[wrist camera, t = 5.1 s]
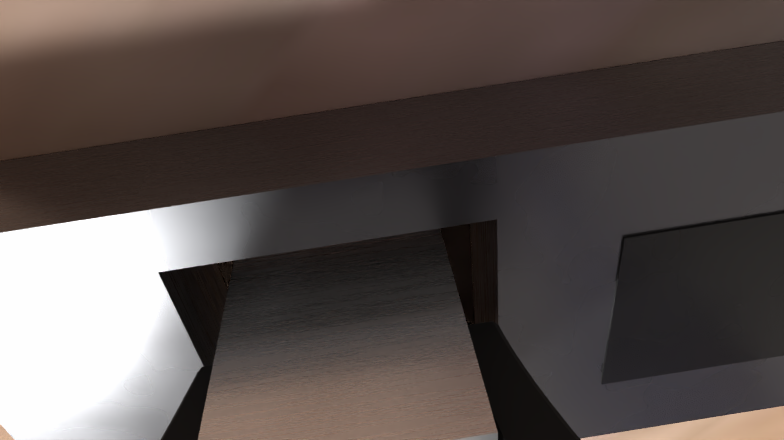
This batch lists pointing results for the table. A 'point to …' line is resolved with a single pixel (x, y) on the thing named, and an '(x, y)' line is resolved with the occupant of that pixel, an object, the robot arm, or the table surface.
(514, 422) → the robot arm
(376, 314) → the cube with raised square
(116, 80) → the table surface
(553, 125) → the dark grey flat block
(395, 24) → the table surface
